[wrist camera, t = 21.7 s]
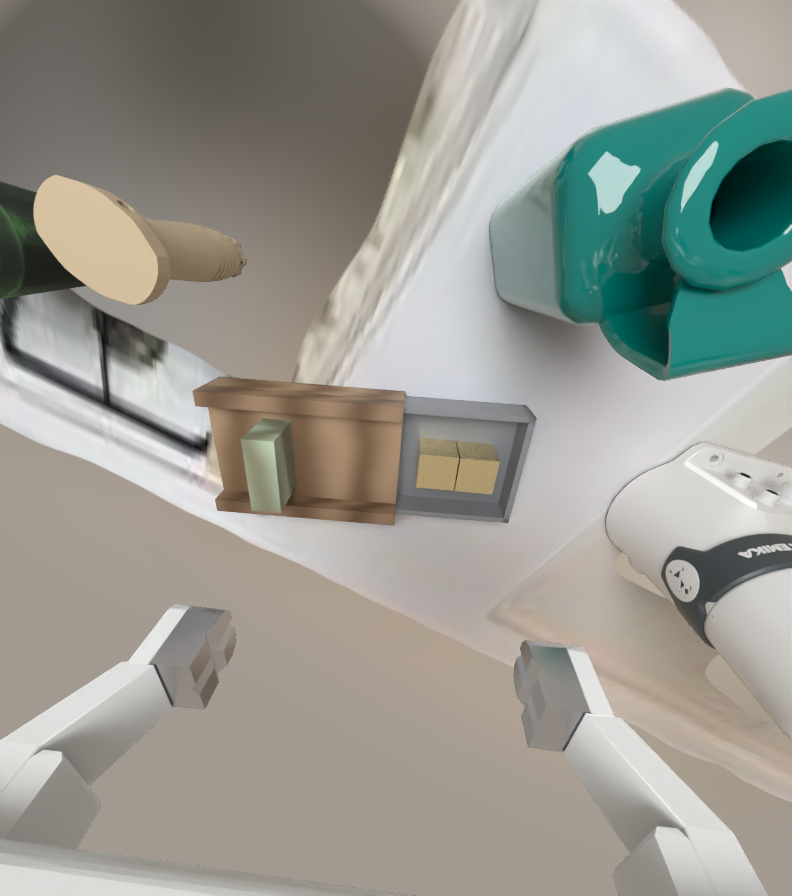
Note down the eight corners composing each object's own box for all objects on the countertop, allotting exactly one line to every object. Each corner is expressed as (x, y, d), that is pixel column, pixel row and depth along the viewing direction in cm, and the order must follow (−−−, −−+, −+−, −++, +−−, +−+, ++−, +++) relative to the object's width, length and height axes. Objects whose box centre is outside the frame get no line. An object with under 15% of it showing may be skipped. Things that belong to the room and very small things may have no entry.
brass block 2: (456, 441, 38) (492, 444, 38) (451, 471, 40) (485, 474, 40) (460, 458, 35) (500, 461, 35) (454, 491, 37) (492, 494, 37)
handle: (247, 303, 34) (136, 322, 20) (187, 252, 32) (22, 237, 18) (274, 260, 32) (171, 251, 18) (211, 205, 30) (49, 150, 17)
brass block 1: (455, 440, 38) (459, 457, 35) (450, 471, 40) (453, 490, 37) (419, 437, 39) (419, 454, 35) (415, 468, 40) (416, 487, 37)
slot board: (405, 391, 37) (403, 407, 32) (396, 499, 43) (394, 525, 39) (219, 376, 37) (192, 391, 33) (237, 486, 43) (217, 510, 39)
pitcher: (485, 203, 29) (632, 59, 9) (591, 172, 28) (1014, -67, 8) (498, 322, 33) (618, 394, 14) (590, 300, 32) (868, 344, 12)
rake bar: (291, 420, 36) (273, 441, 31) (296, 485, 39) (281, 512, 35) (262, 418, 36) (240, 439, 31) (270, 483, 39) (251, 510, 35)
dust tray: (526, 405, 37) (536, 417, 34) (501, 504, 43) (507, 522, 40) (404, 395, 37) (403, 407, 34) (396, 496, 43) (395, 513, 40)
